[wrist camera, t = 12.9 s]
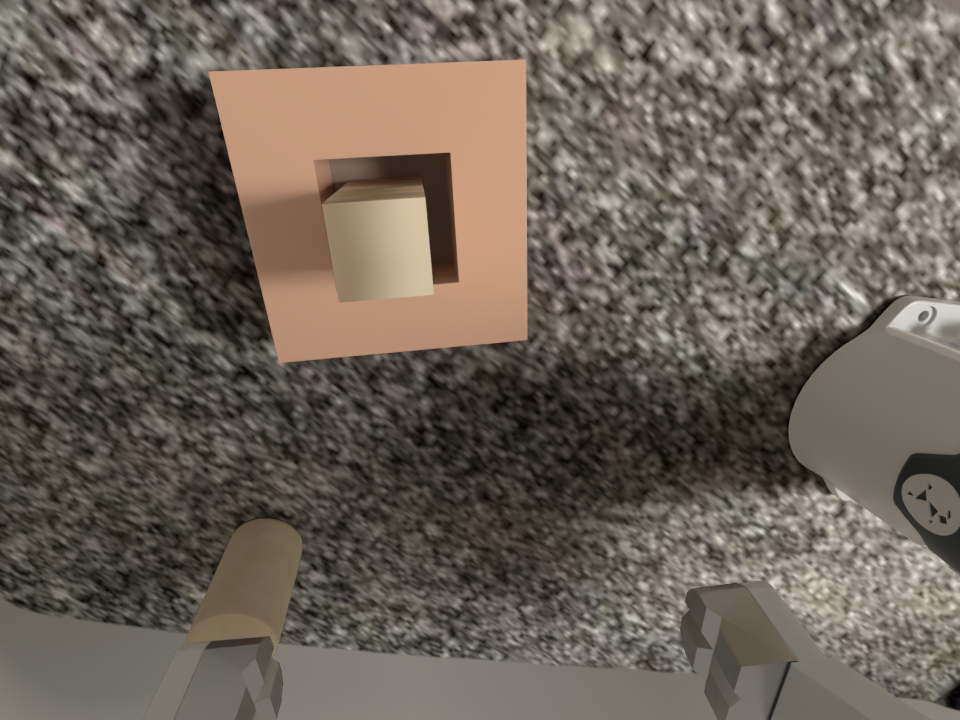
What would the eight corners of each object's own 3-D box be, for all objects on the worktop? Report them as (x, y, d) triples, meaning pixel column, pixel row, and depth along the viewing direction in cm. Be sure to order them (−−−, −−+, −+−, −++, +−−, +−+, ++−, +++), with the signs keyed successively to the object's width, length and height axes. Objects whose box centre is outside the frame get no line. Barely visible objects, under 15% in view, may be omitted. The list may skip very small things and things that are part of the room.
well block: (505, 72, 28) (526, 59, 23) (510, 309, 34) (527, 340, 29) (246, 82, 26) (208, 71, 21) (299, 327, 32) (279, 362, 27)
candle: (257, 505, 38) (209, 622, 29) (317, 538, 40) (290, 657, 31) (216, 548, 39) (158, 674, 30) (276, 578, 41) (239, 704, 32)
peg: (420, 175, 28) (425, 197, 19) (427, 245, 30) (433, 294, 21) (350, 180, 28) (321, 203, 19) (360, 250, 30) (339, 302, 21)
